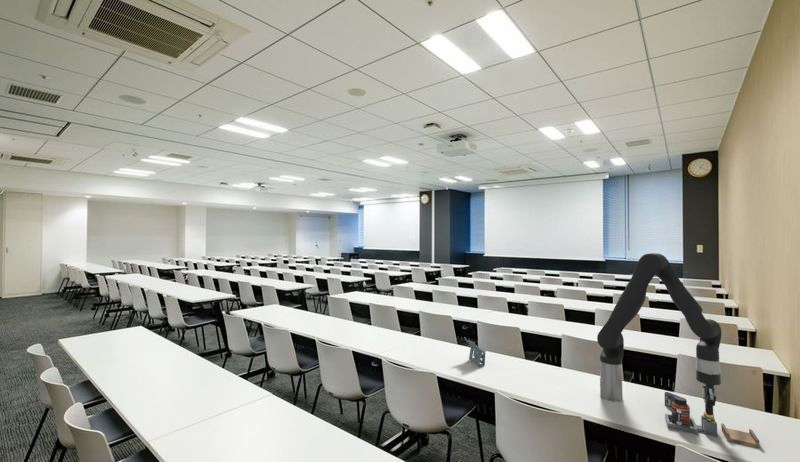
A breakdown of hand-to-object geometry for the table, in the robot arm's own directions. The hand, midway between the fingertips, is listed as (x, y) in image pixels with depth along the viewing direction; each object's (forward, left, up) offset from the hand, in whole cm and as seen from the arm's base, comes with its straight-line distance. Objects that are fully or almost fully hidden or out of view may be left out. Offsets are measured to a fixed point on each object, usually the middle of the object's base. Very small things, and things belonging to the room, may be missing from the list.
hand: (709, 413), depth 143 cm
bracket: (-107, +28, -8) cm, 111 cm away
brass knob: (0, 0, -6) cm, 6 cm away
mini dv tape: (-9, +18, -8) cm, 22 cm away
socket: (-6, 0, -7) cm, 9 cm away
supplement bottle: (-9, 0, -8) cm, 12 cm away
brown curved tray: (+9, 0, -7) cm, 11 cm away
